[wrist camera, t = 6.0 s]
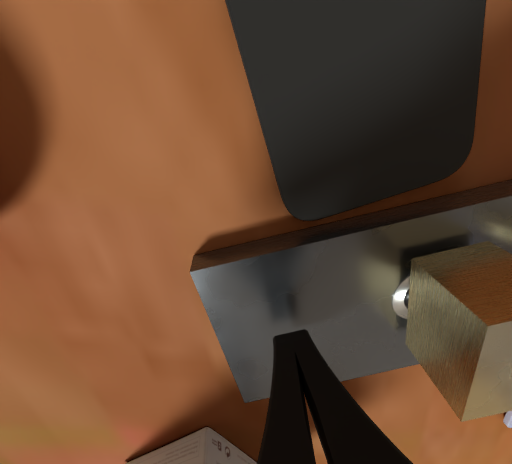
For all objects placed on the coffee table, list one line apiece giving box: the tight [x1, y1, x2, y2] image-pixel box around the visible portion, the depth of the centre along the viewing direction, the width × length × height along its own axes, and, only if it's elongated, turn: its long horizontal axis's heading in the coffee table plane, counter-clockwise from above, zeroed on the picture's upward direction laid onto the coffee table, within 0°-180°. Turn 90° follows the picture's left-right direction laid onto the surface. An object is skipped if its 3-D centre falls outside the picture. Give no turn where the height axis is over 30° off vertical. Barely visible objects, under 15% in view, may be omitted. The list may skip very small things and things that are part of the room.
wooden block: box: [405, 241, 512, 422], centre depth 10 cm, size 5×3×3 cm, turn 12°
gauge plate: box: [190, 180, 512, 403], centre depth 10 cm, size 9×19×6 cm, turn 102°
